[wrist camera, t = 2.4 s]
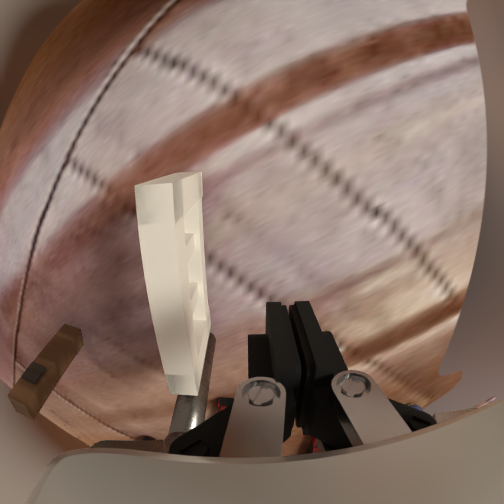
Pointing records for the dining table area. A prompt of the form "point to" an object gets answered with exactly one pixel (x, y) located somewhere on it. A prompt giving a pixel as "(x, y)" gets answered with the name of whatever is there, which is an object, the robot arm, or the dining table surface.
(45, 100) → the dining table surface
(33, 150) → the dining table surface
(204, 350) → the gate
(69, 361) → the post
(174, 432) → the hinge post
